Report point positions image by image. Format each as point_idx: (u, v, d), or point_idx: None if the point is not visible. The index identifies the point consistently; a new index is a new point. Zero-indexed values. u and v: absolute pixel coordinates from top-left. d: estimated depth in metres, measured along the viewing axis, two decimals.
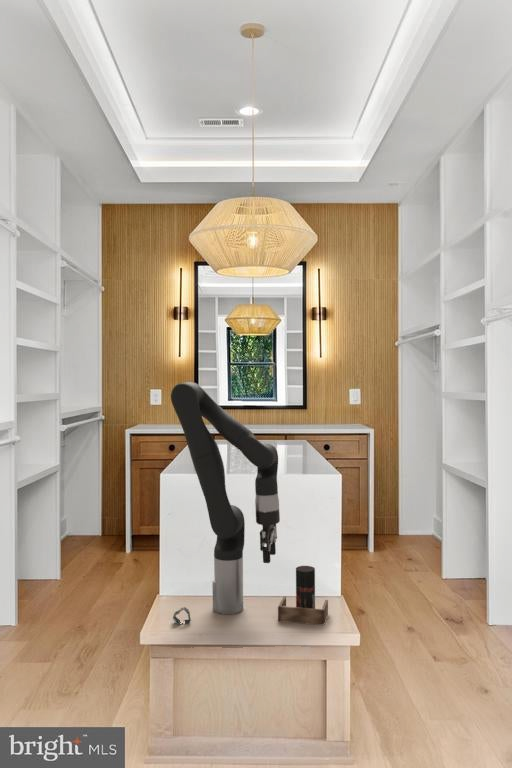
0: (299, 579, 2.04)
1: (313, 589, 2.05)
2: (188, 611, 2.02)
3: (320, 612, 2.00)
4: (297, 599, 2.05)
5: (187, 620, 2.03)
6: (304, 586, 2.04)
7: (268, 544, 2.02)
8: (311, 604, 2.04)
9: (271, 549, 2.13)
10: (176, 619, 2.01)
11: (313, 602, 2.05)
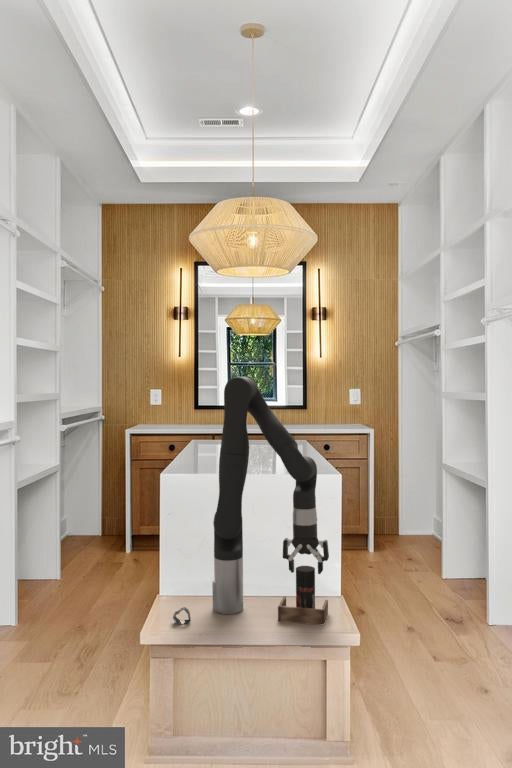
0: (299, 579, 2.04)
1: (313, 589, 2.05)
2: (188, 611, 2.02)
3: (320, 612, 2.00)
4: (297, 599, 2.05)
5: (187, 620, 2.03)
6: (304, 586, 2.04)
7: None
8: (311, 604, 2.04)
9: (293, 566, 2.07)
10: (176, 619, 2.01)
11: (313, 602, 2.05)
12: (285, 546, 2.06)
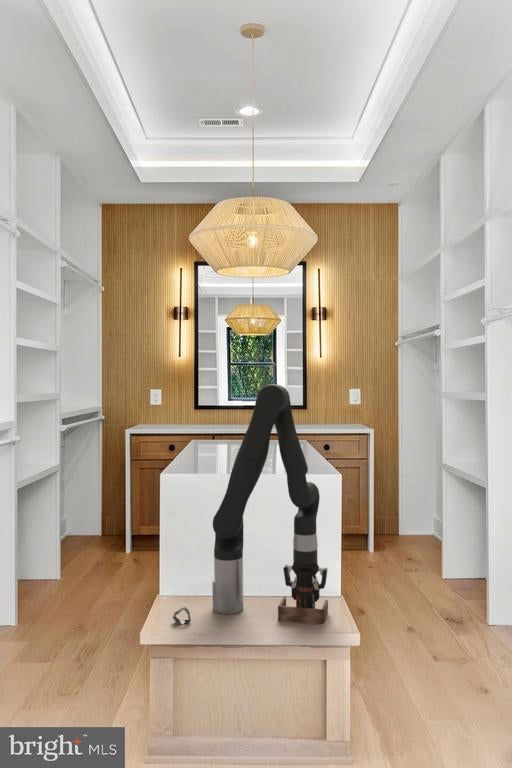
0: (299, 579, 2.04)
1: (313, 589, 2.05)
2: (188, 611, 2.02)
3: (320, 612, 2.00)
4: (297, 599, 2.05)
5: (187, 620, 2.03)
6: (304, 586, 2.04)
7: None
8: (311, 604, 2.04)
9: None
10: (176, 619, 2.01)
11: (313, 602, 2.05)
12: (286, 573, 2.07)
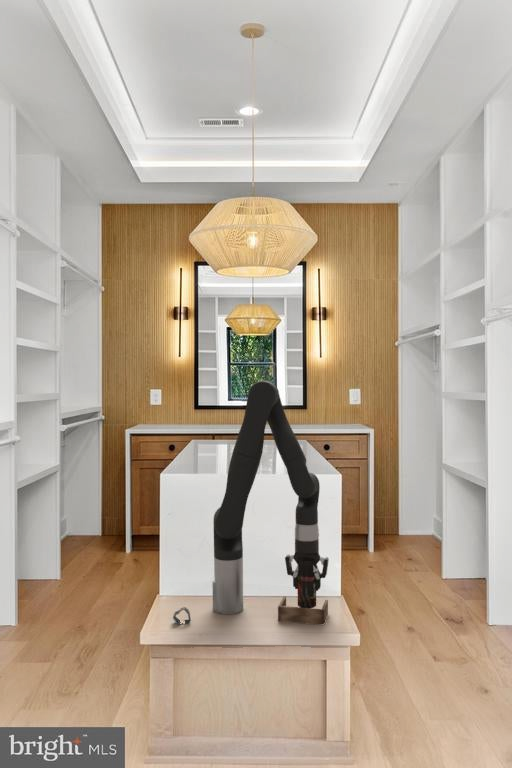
0: (300, 568, 2.07)
1: (314, 578, 2.07)
2: (188, 611, 2.02)
3: (320, 612, 2.00)
4: (298, 588, 2.08)
5: (187, 620, 2.03)
6: (305, 575, 2.06)
7: None
8: (312, 593, 2.07)
9: (297, 582, 2.10)
10: (176, 619, 2.01)
11: (314, 591, 2.08)
12: (288, 562, 2.09)
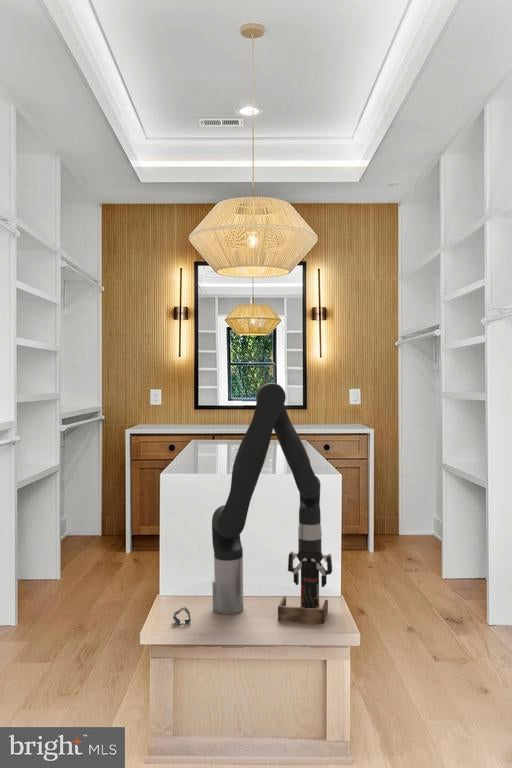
0: (304, 570, 2.13)
1: (317, 579, 2.13)
2: (188, 611, 2.02)
3: (320, 612, 2.00)
4: (302, 589, 2.14)
5: (187, 620, 2.03)
6: (309, 576, 2.12)
7: None
8: (315, 594, 2.13)
9: (298, 578, 2.16)
10: (176, 619, 2.01)
11: (317, 592, 2.14)
12: (290, 559, 2.15)
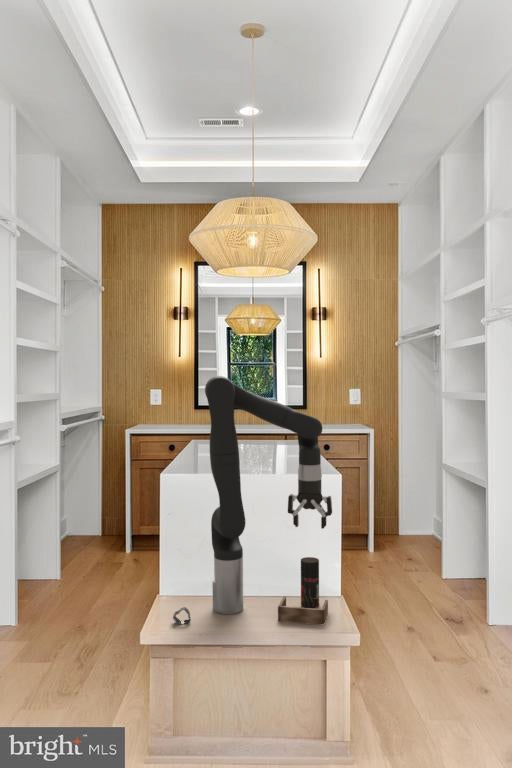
0: (304, 570, 2.13)
1: (317, 579, 2.13)
2: (188, 611, 2.02)
3: (320, 612, 2.00)
4: (302, 589, 2.14)
5: (187, 620, 2.03)
6: (309, 576, 2.12)
7: None
8: (315, 594, 2.13)
9: (297, 520, 2.15)
10: (176, 619, 2.01)
11: (317, 592, 2.14)
12: (290, 501, 2.14)
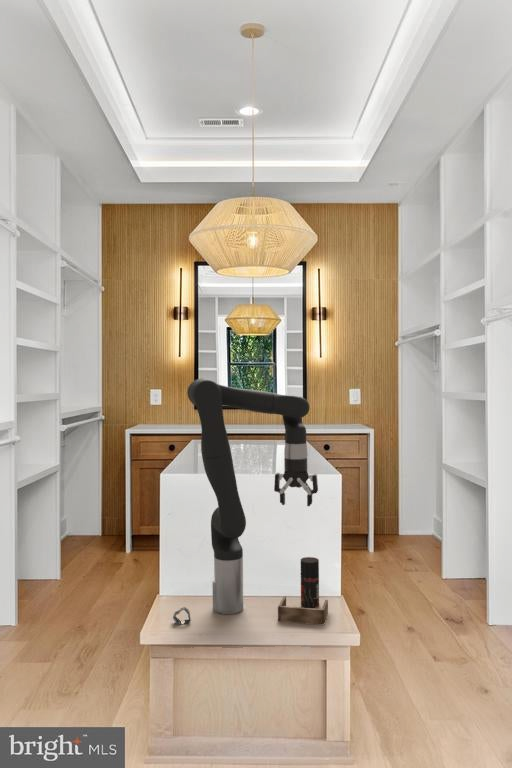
0: (303, 570, 2.13)
1: (317, 579, 2.14)
2: (188, 611, 2.02)
3: (320, 612, 2.00)
4: (302, 589, 2.14)
5: (187, 620, 2.03)
6: (308, 576, 2.12)
7: None
8: (315, 594, 2.13)
9: (284, 499, 2.19)
10: (176, 619, 2.01)
11: (317, 592, 2.14)
12: (277, 480, 2.18)
